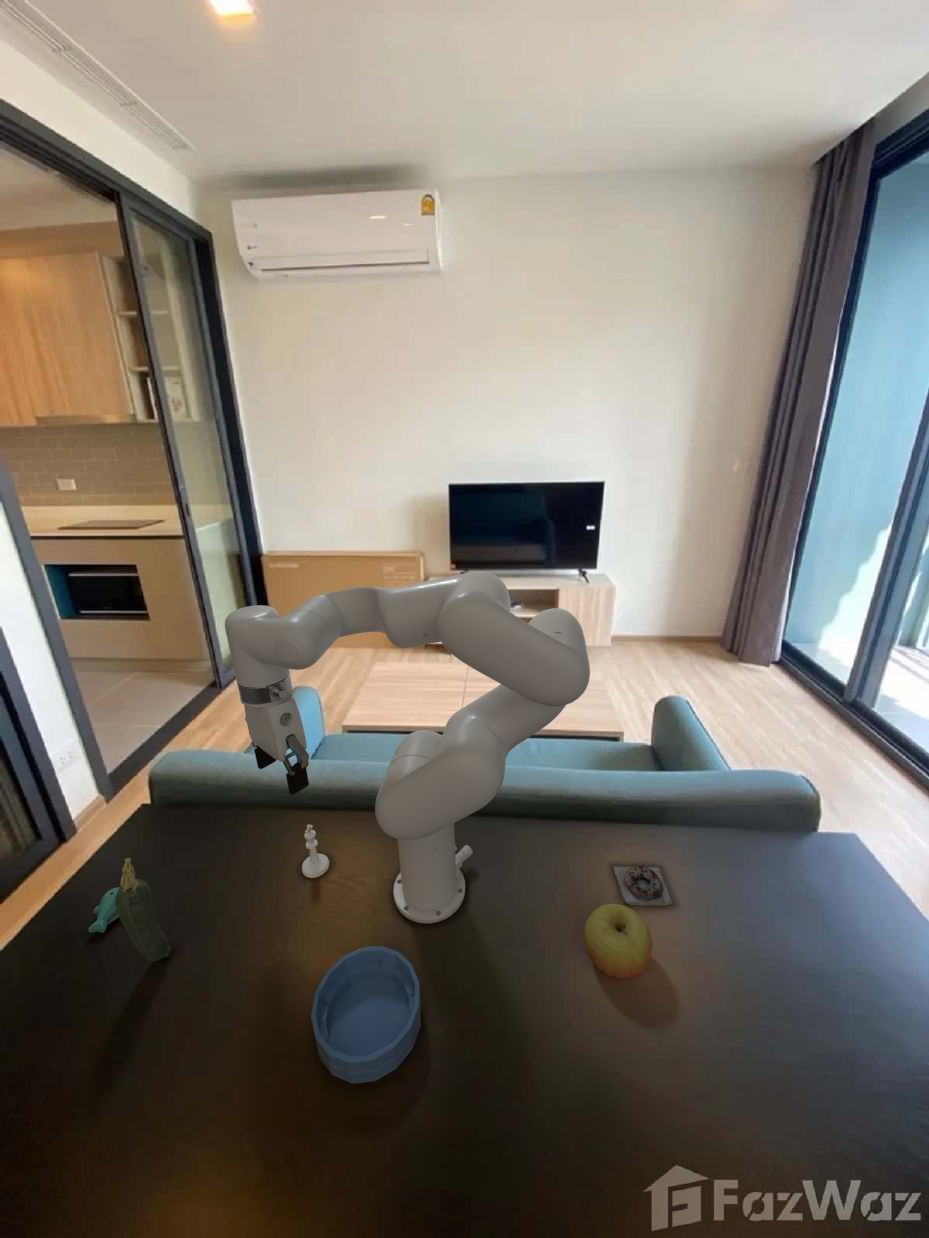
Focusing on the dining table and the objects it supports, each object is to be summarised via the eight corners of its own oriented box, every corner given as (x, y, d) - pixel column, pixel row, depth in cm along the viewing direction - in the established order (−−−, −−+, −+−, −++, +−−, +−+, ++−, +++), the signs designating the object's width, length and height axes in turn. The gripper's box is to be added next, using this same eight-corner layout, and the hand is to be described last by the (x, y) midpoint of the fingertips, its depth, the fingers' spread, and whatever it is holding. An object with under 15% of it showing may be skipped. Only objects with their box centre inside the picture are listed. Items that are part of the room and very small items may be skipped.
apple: (639, 1004, 70) (645, 967, 67) (573, 968, 75) (576, 931, 72) (655, 946, 78) (661, 910, 75) (594, 916, 83) (598, 881, 80)
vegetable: (158, 978, 75) (120, 881, 67) (133, 972, 76) (93, 876, 68) (179, 949, 79) (146, 855, 71) (155, 944, 80) (120, 850, 72)
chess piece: (334, 859, 94) (328, 818, 91) (319, 880, 90) (311, 839, 86) (312, 853, 96) (305, 812, 92) (296, 873, 92) (288, 832, 88)
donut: (623, 905, 84) (625, 896, 84) (612, 866, 92) (613, 858, 91) (673, 906, 84) (675, 897, 83) (658, 867, 91) (660, 859, 90)
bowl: (376, 949, 78) (373, 927, 76) (442, 1014, 69) (440, 991, 68) (296, 1028, 68) (290, 1005, 66) (361, 1115, 60) (357, 1091, 58)
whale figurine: (143, 897, 88) (137, 881, 86) (113, 937, 81) (106, 921, 79) (112, 896, 88) (105, 880, 87) (79, 936, 81) (72, 919, 80)
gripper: (319, 694, 73) (333, 787, 80) (259, 661, 84) (276, 745, 90) (272, 717, 68) (291, 814, 74) (215, 678, 78) (236, 766, 85)
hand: (283, 776), depth 82 cm, fingers open, 9 cm apart
